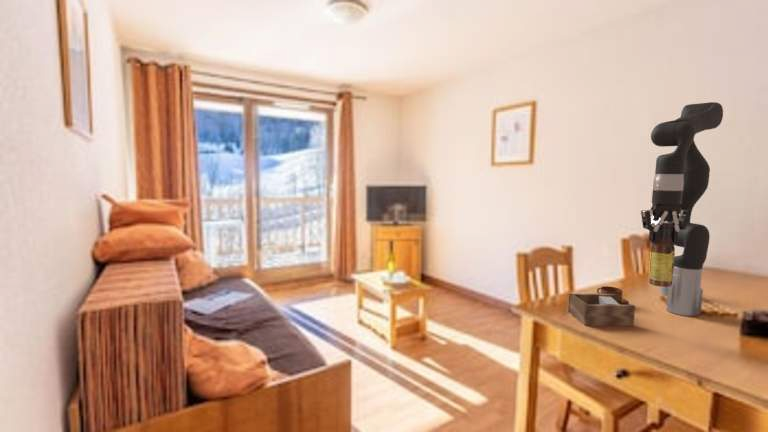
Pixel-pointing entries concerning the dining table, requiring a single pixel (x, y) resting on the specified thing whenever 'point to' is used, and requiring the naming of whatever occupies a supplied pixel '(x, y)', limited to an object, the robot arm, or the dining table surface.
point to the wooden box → (600, 311)
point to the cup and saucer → (614, 291)
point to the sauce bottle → (662, 257)
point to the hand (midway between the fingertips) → (662, 242)
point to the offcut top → (607, 301)
